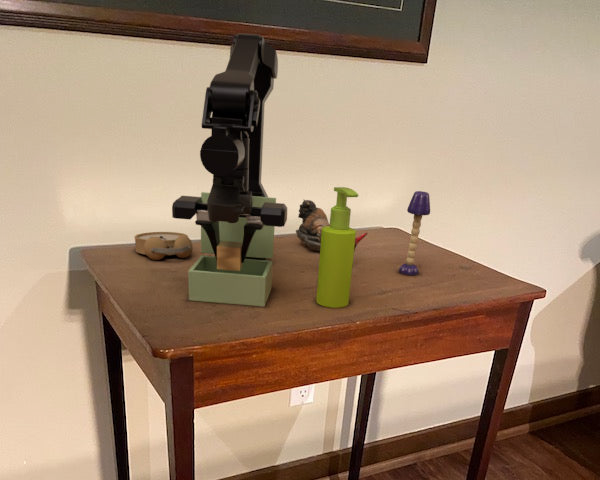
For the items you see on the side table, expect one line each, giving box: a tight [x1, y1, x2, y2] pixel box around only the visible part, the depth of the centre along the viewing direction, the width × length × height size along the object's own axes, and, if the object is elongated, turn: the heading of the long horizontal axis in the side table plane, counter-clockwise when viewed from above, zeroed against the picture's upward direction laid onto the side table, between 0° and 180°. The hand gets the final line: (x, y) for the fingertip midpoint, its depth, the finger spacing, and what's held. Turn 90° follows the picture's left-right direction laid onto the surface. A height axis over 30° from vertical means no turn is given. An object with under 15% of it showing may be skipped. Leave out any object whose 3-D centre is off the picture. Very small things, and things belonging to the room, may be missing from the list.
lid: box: [200, 191, 277, 260], centre depth 112 cm, size 11×13×1 cm
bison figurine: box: [295, 199, 330, 252], centre depth 143 cm, size 12×7×10 cm, turn 27°
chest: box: [187, 254, 274, 308], centre depth 111 cm, size 10×13×5 cm
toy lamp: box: [398, 190, 431, 276], centre depth 128 cm, size 5×5×17 cm
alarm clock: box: [134, 231, 193, 261], centre depth 132 cm, size 11×5×15 cm
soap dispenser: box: [315, 186, 359, 309], centre depth 107 cm, size 6×7×20 cm
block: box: [217, 241, 243, 271], centre depth 107 cm, size 4×4×4 cm
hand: (230, 261), depth 108 cm, fingers closed on block, 4 cm apart
